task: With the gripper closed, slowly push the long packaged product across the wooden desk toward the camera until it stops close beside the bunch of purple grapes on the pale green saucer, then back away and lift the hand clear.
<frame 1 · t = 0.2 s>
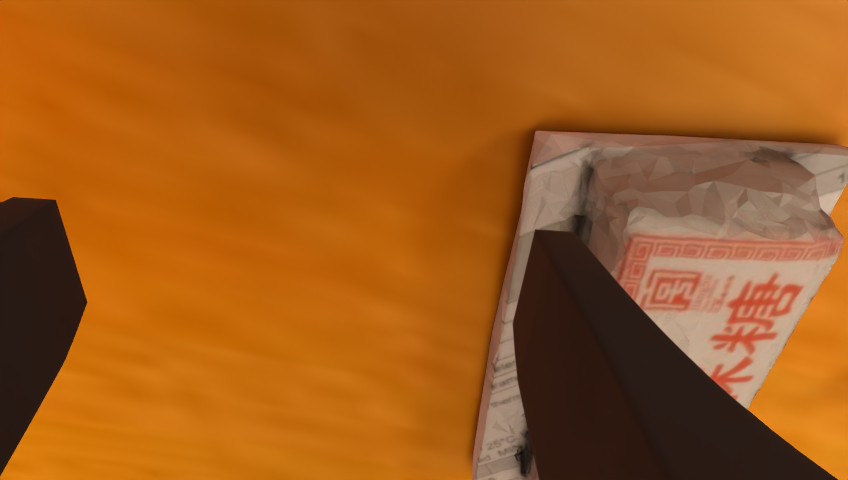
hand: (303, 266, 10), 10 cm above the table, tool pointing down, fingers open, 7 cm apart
packaged product: (615, 330, 25), on the table
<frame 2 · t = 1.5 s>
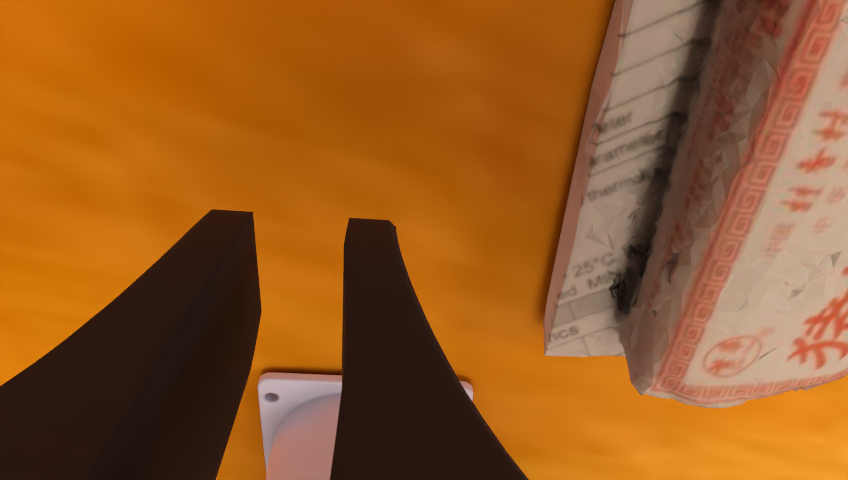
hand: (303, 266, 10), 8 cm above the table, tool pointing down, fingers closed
packaged product: (765, 90, 18), on the table
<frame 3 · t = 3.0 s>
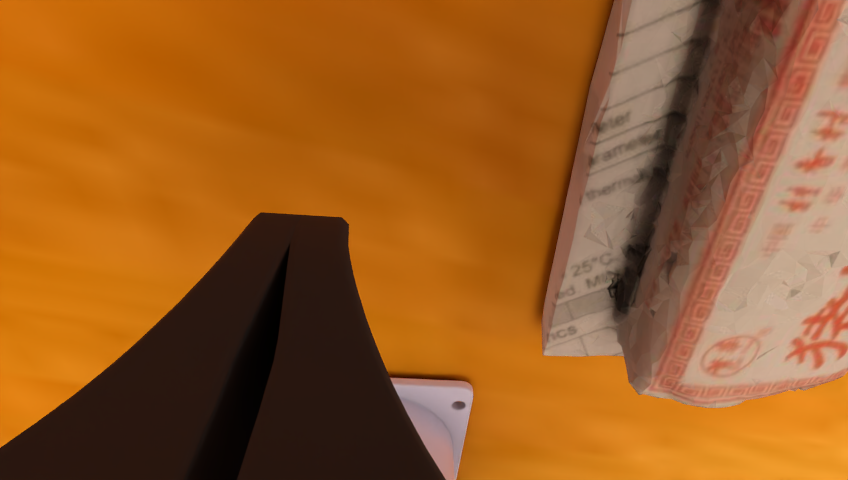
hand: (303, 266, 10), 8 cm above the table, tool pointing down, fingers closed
packaged product: (763, 90, 18), on the table
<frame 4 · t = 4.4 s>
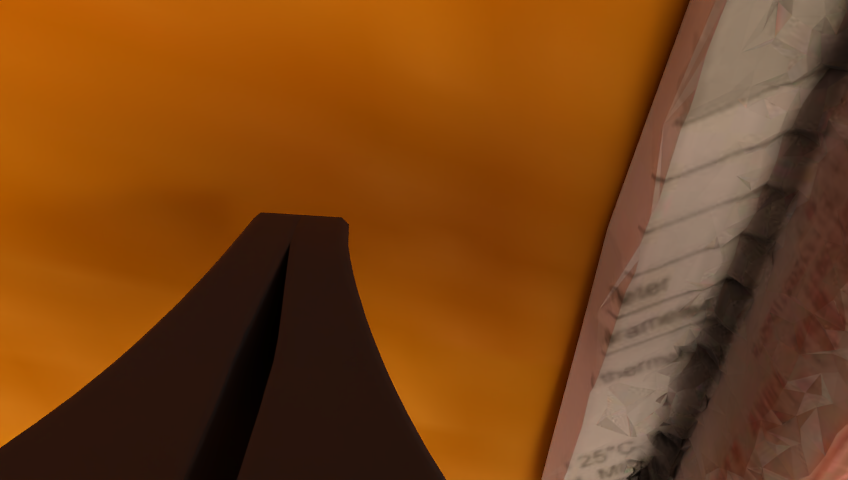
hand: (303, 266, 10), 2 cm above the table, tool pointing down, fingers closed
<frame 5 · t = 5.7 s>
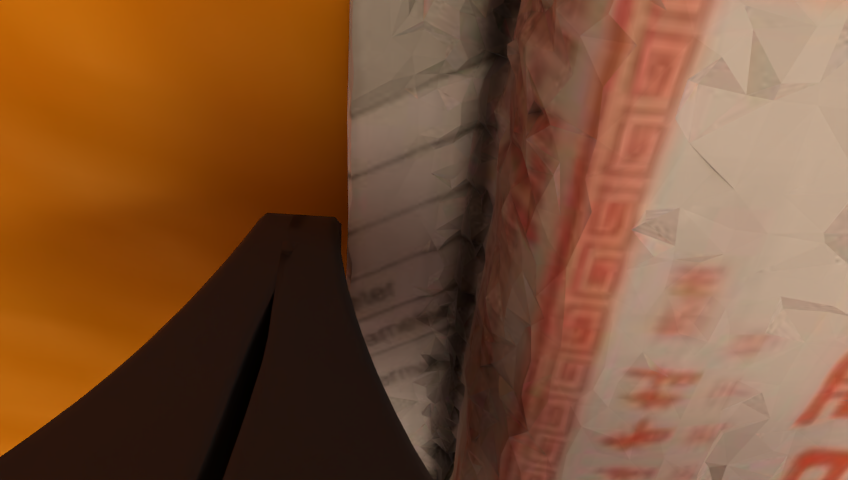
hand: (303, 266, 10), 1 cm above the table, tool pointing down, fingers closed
packaged product: (622, 230, 12), on the table, touching gripper
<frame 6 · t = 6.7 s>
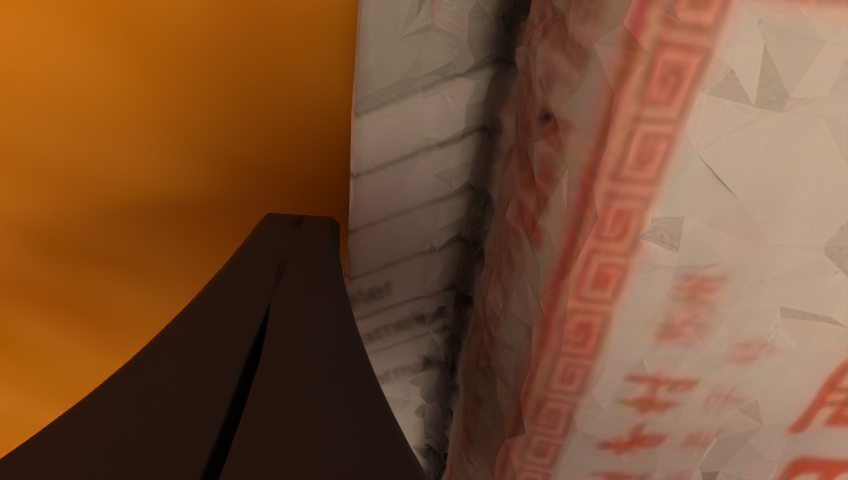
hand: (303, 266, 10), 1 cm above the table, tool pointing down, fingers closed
packaged product: (619, 236, 12), on the table, touching gripper
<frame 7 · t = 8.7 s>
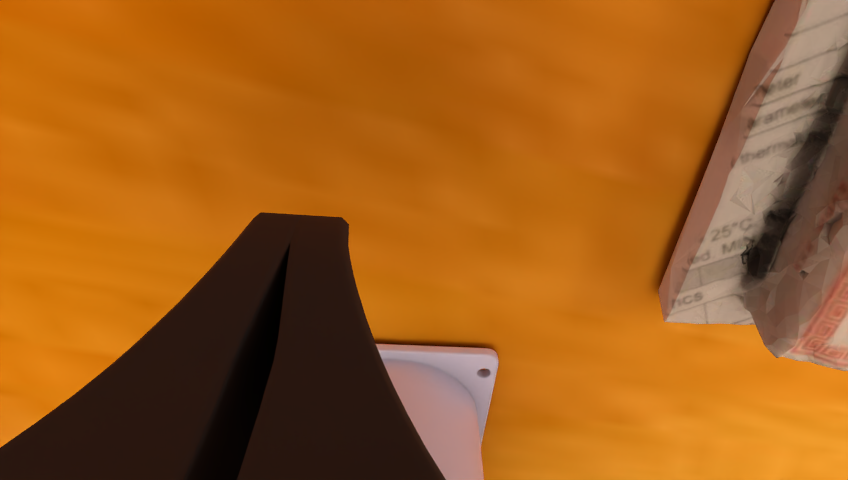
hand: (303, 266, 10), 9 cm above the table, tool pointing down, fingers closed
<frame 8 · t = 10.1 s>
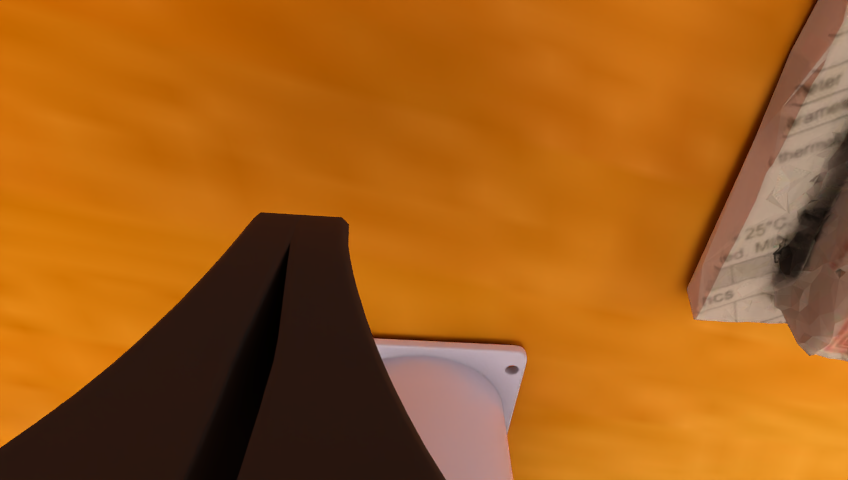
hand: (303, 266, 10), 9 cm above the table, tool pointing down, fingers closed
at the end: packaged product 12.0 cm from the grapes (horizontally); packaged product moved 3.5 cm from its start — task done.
